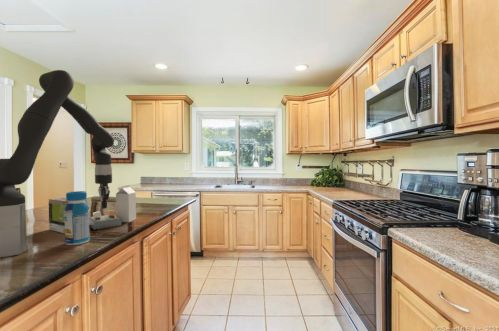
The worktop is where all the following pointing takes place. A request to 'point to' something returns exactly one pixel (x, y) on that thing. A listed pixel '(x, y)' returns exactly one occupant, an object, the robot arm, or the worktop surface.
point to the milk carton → (126, 204)
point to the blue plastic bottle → (76, 218)
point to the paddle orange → (111, 212)
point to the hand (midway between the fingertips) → (104, 208)
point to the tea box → (57, 214)
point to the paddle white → (97, 214)
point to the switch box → (104, 221)
